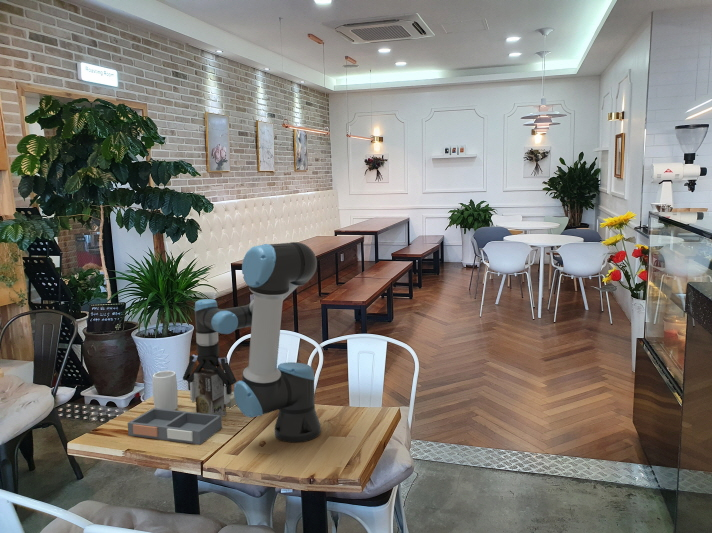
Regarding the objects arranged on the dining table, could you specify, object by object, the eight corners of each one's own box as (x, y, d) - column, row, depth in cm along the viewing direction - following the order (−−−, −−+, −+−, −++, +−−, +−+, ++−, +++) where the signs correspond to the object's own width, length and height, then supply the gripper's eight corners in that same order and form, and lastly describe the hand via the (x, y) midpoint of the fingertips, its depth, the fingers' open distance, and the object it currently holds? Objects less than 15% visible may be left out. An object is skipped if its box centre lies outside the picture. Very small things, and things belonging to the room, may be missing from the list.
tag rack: (222, 427, 191) (221, 415, 190) (199, 445, 177) (198, 432, 177) (154, 419, 198) (153, 408, 198) (127, 436, 185) (126, 423, 185)
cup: (161, 406, 211) (159, 370, 209) (182, 407, 210) (180, 370, 208) (149, 415, 202) (147, 377, 201) (172, 416, 201) (169, 378, 200)
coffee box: (227, 414, 202) (224, 371, 200) (213, 420, 197) (211, 376, 195) (209, 409, 207) (207, 367, 205) (195, 415, 202) (193, 372, 199)
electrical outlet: (203, 386, 221) (242, 392, 214) (204, 396, 222) (242, 403, 214) (191, 392, 215) (230, 399, 207) (192, 403, 215) (231, 409, 208)
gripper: (244, 342, 198) (246, 400, 201) (183, 338, 206) (186, 393, 208) (234, 348, 191) (236, 408, 194) (170, 343, 198) (174, 401, 201)
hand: (210, 401), depth 201 cm, fingers open, 13 cm apart
